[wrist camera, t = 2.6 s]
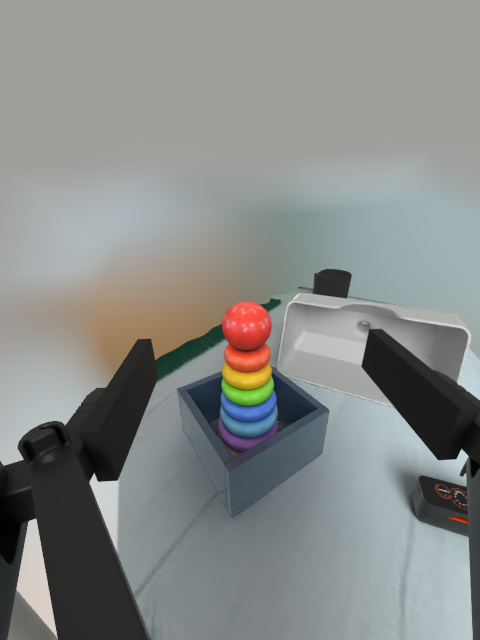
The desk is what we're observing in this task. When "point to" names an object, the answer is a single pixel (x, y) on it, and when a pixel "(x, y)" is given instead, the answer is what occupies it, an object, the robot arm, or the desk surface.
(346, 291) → the pen holder
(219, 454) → the square holder
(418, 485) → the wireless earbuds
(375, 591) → the desk surface
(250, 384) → the stacking toy
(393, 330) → the light grey open box
